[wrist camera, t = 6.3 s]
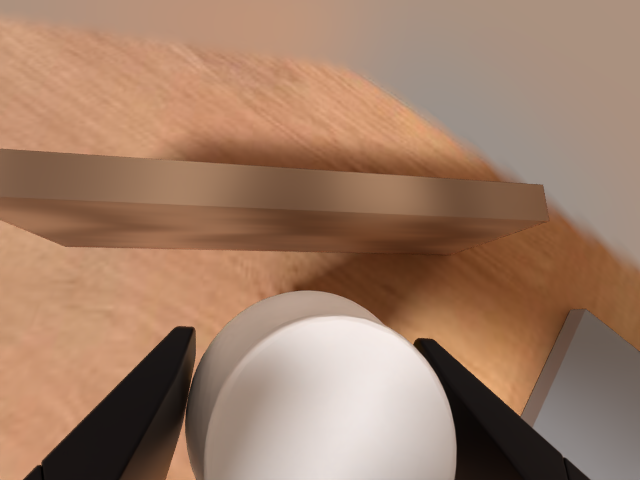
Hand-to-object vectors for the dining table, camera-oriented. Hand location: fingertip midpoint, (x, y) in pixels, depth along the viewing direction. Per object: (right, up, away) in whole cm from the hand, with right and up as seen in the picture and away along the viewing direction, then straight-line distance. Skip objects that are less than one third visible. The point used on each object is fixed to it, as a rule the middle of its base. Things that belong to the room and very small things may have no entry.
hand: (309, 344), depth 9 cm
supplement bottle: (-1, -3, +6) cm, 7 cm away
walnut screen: (-2, +3, +10) cm, 10 cm away
